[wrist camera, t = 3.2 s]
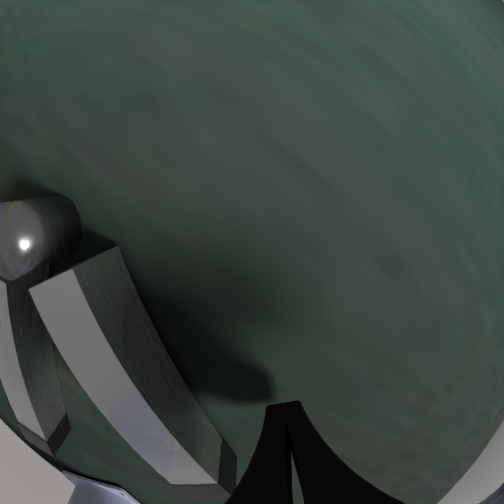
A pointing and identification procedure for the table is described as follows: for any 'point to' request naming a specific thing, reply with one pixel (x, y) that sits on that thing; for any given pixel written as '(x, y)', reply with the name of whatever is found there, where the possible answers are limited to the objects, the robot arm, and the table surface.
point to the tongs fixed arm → (32, 313)
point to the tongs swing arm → (133, 374)
